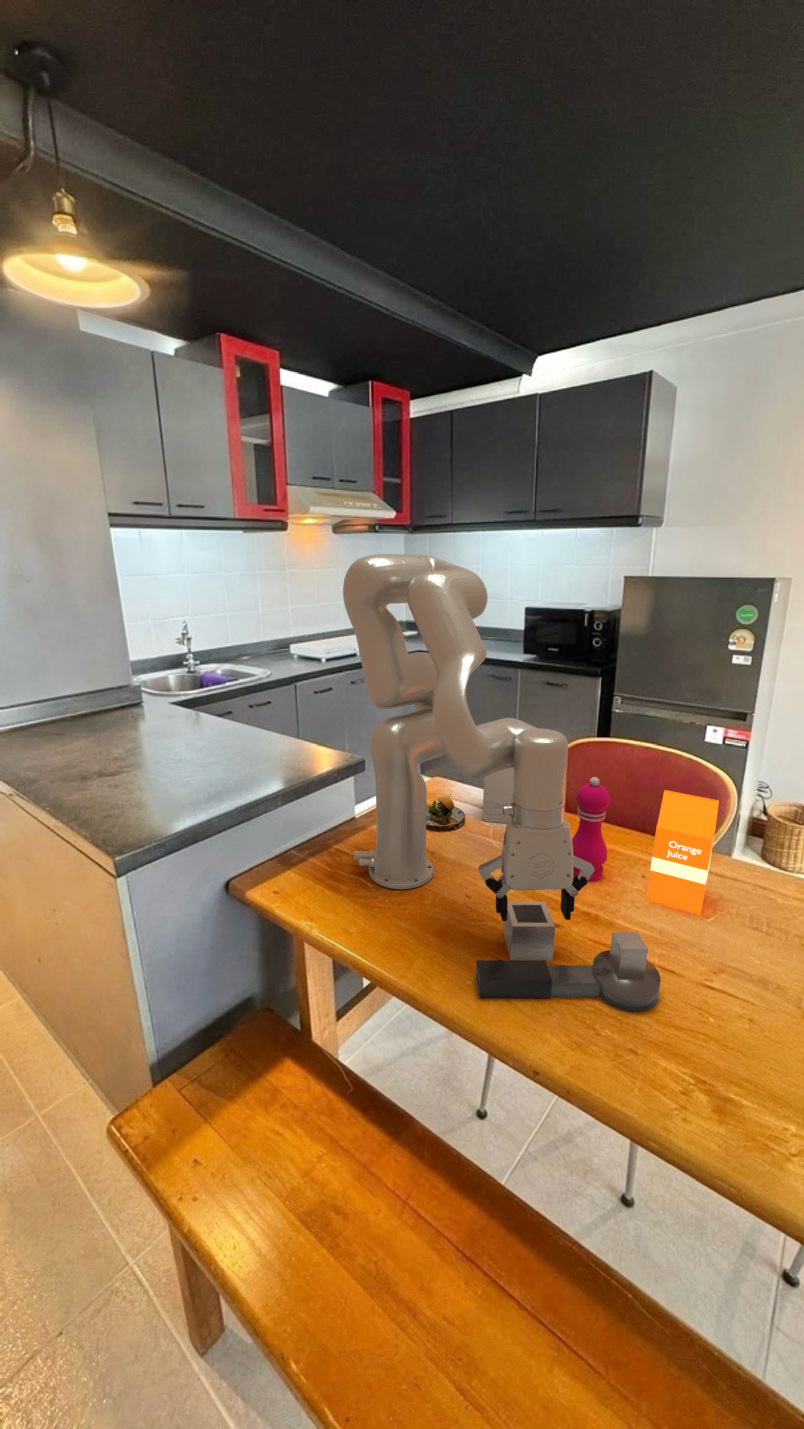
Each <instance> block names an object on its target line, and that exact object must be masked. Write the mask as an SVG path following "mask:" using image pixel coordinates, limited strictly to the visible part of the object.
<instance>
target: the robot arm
mask: <svg viewBox="0 0 804 1429" xmlns="http://www.w3.org/2000/svg"><path fill="white" fill-rule="evenodd" d="M342 596H343V597H342V598H343V603H344V608H345V612H346V614H347V617H348V619H349V621H350V624H351V626H352V628H353V632H354V634H355V637H356V642H357V646H358V652H359V658H360V661H361V662H360V663H361V666H362V671H363V678H364V681H365V686H366V691H367V693H368V697H369V699H370V702H371V703H372V705H373V706H375V707H376V708H378V709H381V710H391V709H397V708H402V707H403V708H404V707H407V706H411V705H413V706H414V710H415V711H412V712H411V711H410V712H405V713H402V714H398V715H394V716H390V717H387V718H385V719H383V720H381V721H380V722H379V723H377V724H376V725H375V726H374V727H373V729H372V731H371V732H370V736H369V748H370V754H371V758H372V762H373V767H374V777H375V778H374V780H375V807H376V808H375V810H376V811H375V812H376V813H375V814H376V816H375V818H376V819H375V821H376V823H375V825H376V829H375V830H376V844H375V847H374V848H375V849H373V848H371V849H369V851H368V850H367V851H366V850H365V851H364V850H354V851H353V861H356V862H358V866H359V867H368V874H369V877H370V879H371V880H372V881H373V882H374V883H376V884H377V885H380V886H382V887H384V888H388V889H393V890H410V889H416V888H418V887H421V886H423V885H425V884H427V883H428V882H429V881H431V879H432V878H433V876H434V864H433V862H432V861H430V859H429V858H427V857H426V854H427V825H426V810H427V805H428V804H427V803H428V802H427V797H428V796H427V795H428V793H427V785H426V781H425V779H424V777H423V776H422V774H421V773H420V772H421V771H419V767H418V766H419V765H420V764H422V763H424V762H427V761H431V760H433V759H436V758H439V757H442V756H444V755H446V757H447V758H448V760H449V762H450V764H451V765H452V766H453V768H454V769H455V770H456V771H457V772H458V773H459V774H460V775H462V776H463V777H465V778H469V779H476V780H477V779H481V778H484V777H485V776H488V775H490V774H493V773H496V772H498V771H501V770H504V769H508V768H513V767H514V773H513V799H512V803H510V805H508V806H503V815H508V816H511V817H509V819H508V821H507V823H506V825H505V830H504V834H503V835H504V837H503V840H502V852H501V854H500V855H499V856H496V857H494V858H492V859H490V860H488V861H486V862H483V863H482V864H480V865H478V867H477V868H478V872H479V875H480V877H481V878H482V880H483V881H484V883H485V885H486V887H487V888H488V889H489V890H491V892H493V893H494V894H495V912H496V913H497V914H499V916H500V919H501V921H502V922H504V921H506V920H507V905H508V902H509V900H508V896H507V894H508V892H510V890H514V891H547V890H548V891H550V890H551V891H553V890H554V891H555V890H560V911H561V914H562V916H563V918H564V920H566V921H571V916H572V913H573V912H574V911H575V898H576V897H577V896H578V894H579V892H580V890H582V889H583V888H584V887H585V886H587V885H588V882H589V881H588V879H589V878H590V877H591V875H592V874H593V872H594V867H593V866H592V864H591V863H589V862H587V861H585V860H582V859H580V858H578V857H576V856H574V855H573V844H572V838H573V836H572V830H571V829H572V827H571V823H569V820H567V819H566V818H565V816H566V815H565V814H566V793H567V776H568V774H567V773H568V758H569V757H568V756H569V742H568V739H567V737H566V736H565V735H564V734H563V733H562V732H561V731H558V730H554V729H550V728H549V729H548V728H539V727H536V726H534V725H531V724H529V723H527V722H525V721H523V720H520V719H518V718H515V717H504V718H500V719H496V720H494V721H489V722H485V723H481V724H478V725H476V723H475V721H474V719H473V716H472V715H471V714H472V713H471V711H470V708H469V705H468V699H467V687H468V682H469V679H470V678H471V675H472V674H473V672H474V671H475V670H476V669H477V668H478V667H479V666H480V665H481V664H483V663H484V662H485V659H486V658H487V647H486V646H485V644H484V642H483V640H482V638H481V634H480V633H479V631H478V628H477V626H476V625H475V623H474V619H477V618H479V617H480V616H481V615H483V613H484V612H485V609H486V608H487V604H488V598H489V597H488V591H487V587H486V585H485V583H484V581H483V580H482V578H481V577H480V576H479V575H478V574H477V573H476V572H473V571H472V570H470V569H468V568H465V567H462V566H460V565H457V564H454V563H451V562H448V561H446V560H443V559H440V558H438V557H435V556H432V555H428V554H417V553H416V554H414V553H413V554H411V553H409V554H407V553H406V554H405V553H404V554H401V553H399V554H398V553H379V554H378V553H377V554H371V555H370V554H369V555H365V556H362V557H360V558H358V559H356V560H355V561H354V562H353V563H352V564H350V565H349V567H348V569H347V571H346V574H345V577H344V579H343V585H342ZM392 604H393V605H394V604H407V606H408V608H409V611H410V612H411V615H412V618H413V620H414V623H415V624H416V626H417V629H418V631H419V633H420V636H421V638H422V641H423V644H424V645H425V647H426V650H427V652H424V651H417V652H410V653H409V652H408V649H407V646H406V640H405V637H404V635H405V634H404V631H403V629H402V626H401V625H400V622H399V621H398V620H397V618H396V617H395V616H394V615H393V613H392V612H391V611H390V610H389V609H388V608H387V606H388V605H392ZM573 866H574V867H576V868H578V869H580V870H581V871H580V873H579V874H577V875H576V876H575V877H574V876H573ZM499 869H501V873H502V874H501V875H500V876H499V878H497V880H496V879H495V878H494V877H493V875H492V874H491V873H492V872H495V871H497V870H499Z"/></svg>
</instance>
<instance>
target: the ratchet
mask: <svg viewBox="0 0 804 1429" xmlns="http://www.w3.org/2000/svg"><path fill="white" fill-rule="evenodd" d="M648 950H649V948H648V947H647V945H646V943H645V941H644V940H643V939H642V936H641V935H640V934H639V932H637V931H635V932H633V931H626V932H625V931H623V932H622V931H618V932H617V931H614V932H611V942H610V949H607V950H604V951H601V952H599V953H598V954H596V956H595V957H594V958H593V960H592V964H589V965H585V964H584V965H581V964H580V965H578V964H576V965H575V964H574V965H573V964H571V965H570V964H569V965H567V964H566V965H565V964H564V965H562V964H561V965H558V964H557V965H555V964H554V965H553V964H547V960H510V959H505V960H504V959H491V960H490V959H485V960H483V959H481V960H480V959H477V960H476V963H475V981H476V988H477V992H478V998H479V999H481V1000H482V999H483V1000H484V999H489V1000H495V999H497V1000H500V999H501V1000H502V999H503V1000H505V999H506V1000H509V999H510V1000H511V999H512V1000H514V999H515V1000H517V999H518V1000H520V999H521V1000H522V999H523V1000H524V999H525V1000H529V999H530V1000H535V999H536V1000H537V999H538V1000H539V999H540V1000H551V999H552V998H599V999H600V1000H601V1001H603V1002H604V1003H606V1004H607V1005H609V1006H611V1007H613V1008H615V1009H618V1010H621V1011H623V1012H628V1013H629V1012H630V1013H642V1012H646V1011H650V1010H652V1009H653V1008H654V1007H655V1006H656V1005H657V1003H658V1001H659V1000H658V999H659V994H660V987H661V975H660V972H659V970H658V969H657V968H656V966H655V965H654V964H653V963H651V961H649V960H648V959H647V958H648Z"/></svg>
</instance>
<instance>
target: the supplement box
mask: <svg viewBox="0 0 804 1429" xmlns="http://www.w3.org/2000/svg"><path fill="white" fill-rule="evenodd" d="M513 773H514V767H513V768H508V769H504V770H501V771H498V772H496V773H493V774H490V775H488V776H485V777H483V792H482V793H483V794H482V795H483V797H482V799H483V801H482V821H483V822H491V823H501V824H503V823H504V824H507V821H508V819H509V817H511V816H508V815H503V806H508V805H510V803H512V799H513Z"/></svg>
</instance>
